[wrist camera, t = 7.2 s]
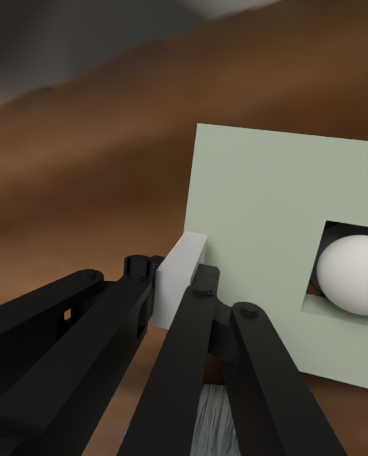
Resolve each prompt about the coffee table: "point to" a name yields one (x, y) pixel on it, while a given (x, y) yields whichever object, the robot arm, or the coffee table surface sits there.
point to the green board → (283, 234)
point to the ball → (346, 273)
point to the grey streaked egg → (213, 424)
